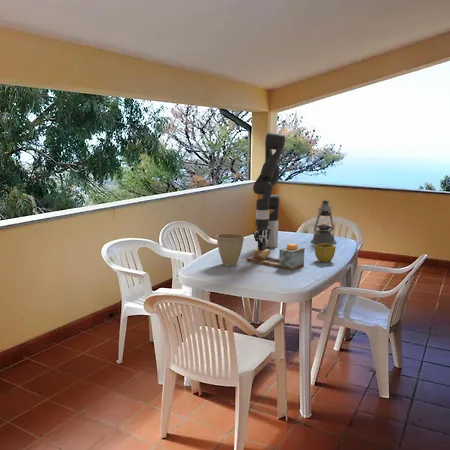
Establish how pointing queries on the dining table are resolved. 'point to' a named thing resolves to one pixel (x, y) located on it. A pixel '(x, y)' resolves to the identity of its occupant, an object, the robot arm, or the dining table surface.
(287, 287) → the dining table surface
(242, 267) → the dining table surface
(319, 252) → the flower pot
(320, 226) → the lantern
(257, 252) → the carriage
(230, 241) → the plant pot
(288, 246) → the button
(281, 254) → the rail rig
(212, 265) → the dining table surface
